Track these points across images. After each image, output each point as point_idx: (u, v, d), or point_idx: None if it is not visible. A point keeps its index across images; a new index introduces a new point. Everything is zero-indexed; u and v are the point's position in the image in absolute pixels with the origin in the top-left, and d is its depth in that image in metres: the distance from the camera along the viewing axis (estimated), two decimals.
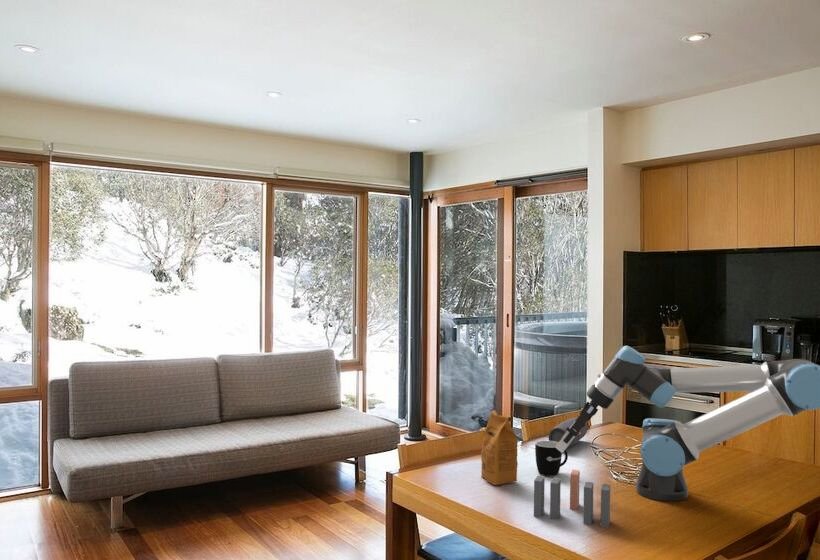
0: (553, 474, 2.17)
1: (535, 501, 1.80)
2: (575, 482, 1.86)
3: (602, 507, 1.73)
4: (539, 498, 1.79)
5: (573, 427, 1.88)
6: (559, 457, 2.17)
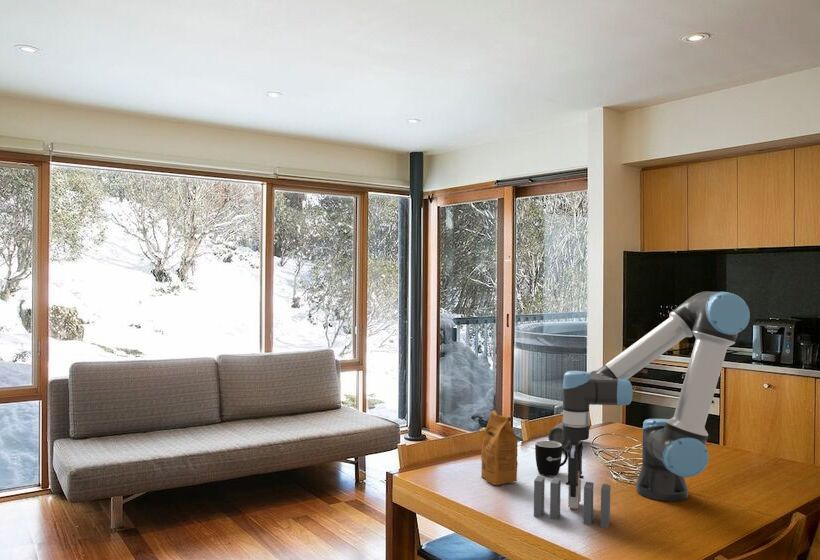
0: (553, 474, 2.17)
1: (535, 501, 1.80)
2: None
3: (602, 507, 1.73)
4: (539, 498, 1.79)
5: (569, 479, 1.83)
6: (559, 457, 2.17)
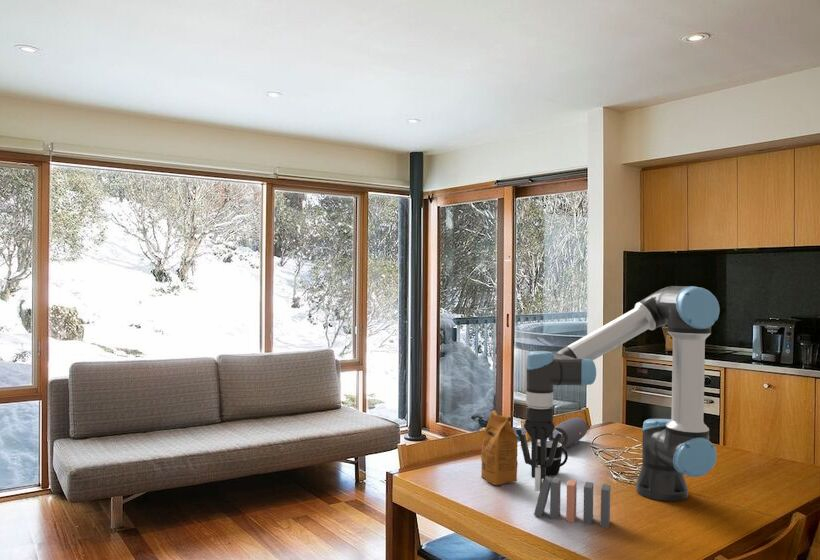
0: (553, 474, 2.17)
1: (539, 501, 1.80)
2: (572, 493, 1.76)
3: (602, 507, 1.73)
4: (543, 499, 1.79)
5: None
6: (559, 457, 2.17)
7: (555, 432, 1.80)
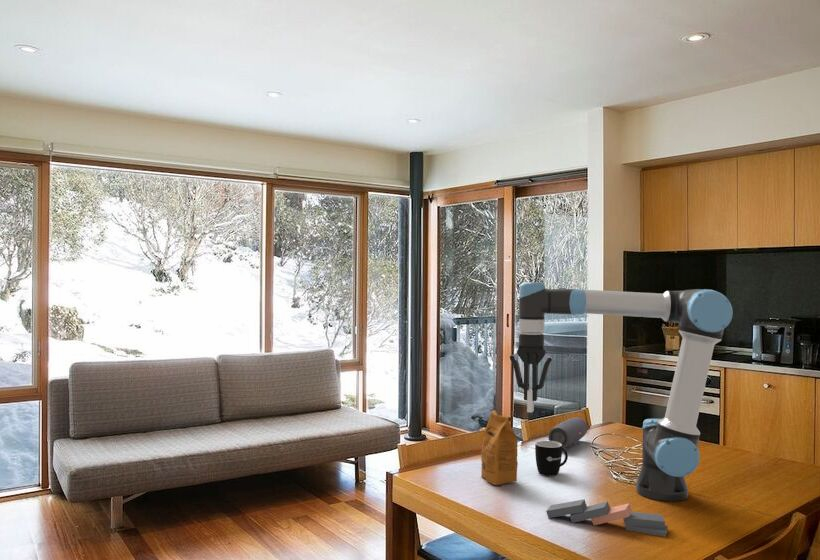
0: (553, 474, 2.17)
1: (560, 510, 1.77)
2: (620, 516, 1.70)
3: (646, 530, 1.69)
4: (565, 513, 1.77)
5: None
6: (559, 457, 2.17)
7: (546, 357, 1.92)
